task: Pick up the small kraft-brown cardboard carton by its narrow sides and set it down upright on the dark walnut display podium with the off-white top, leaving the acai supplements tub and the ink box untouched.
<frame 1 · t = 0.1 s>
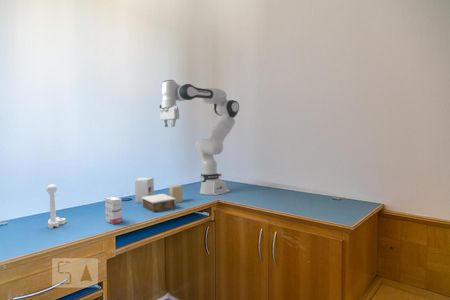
hand: (169, 126, 188), 48 cm above the worktop, tool pointing down, fingers open, 8 cm apart
podium: (158, 207, 172), on the worktop
supplement box: (145, 201, 188), on the worktop
carton: (176, 201, 186), on the worktop
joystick: (57, 224, 143), on the worktop
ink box: (114, 222, 146), on the worktop
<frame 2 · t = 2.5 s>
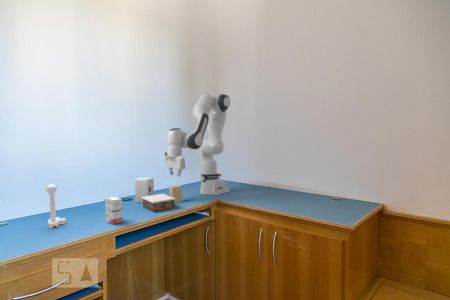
hand: (175, 175, 185), 17 cm above the worktop, tool pointing down, fingers open, 8 cm apart
nothing on the worktop moved.
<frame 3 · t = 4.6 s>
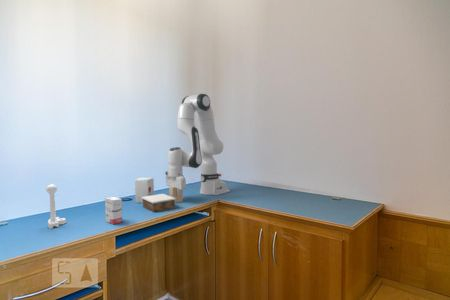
hand: (176, 194, 186), 5 cm above the worktop, tool pointing down, fingers closed on carton, 4 cm apart
carton: (176, 201, 186), on the worktop, touching gripper
everything else where it was.
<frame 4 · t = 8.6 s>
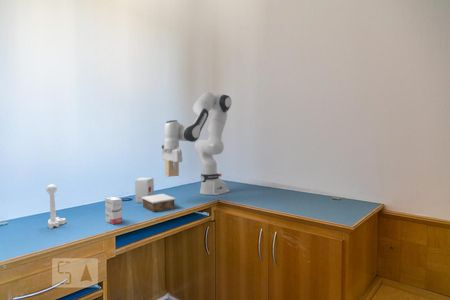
hand: (172, 168, 182), 22 cm above the worktop, tool pointing down, fingers closed on carton, 4 cm apart
carton: (172, 175, 182), point 17 cm above the worktop, touching gripper
everything else where it was.
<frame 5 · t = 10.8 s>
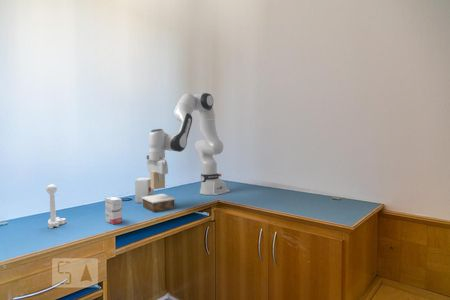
hand: (157, 180, 171), 16 cm above the worktop, tool pointing down, fingers closed on carton, 4 cm apart
carton: (157, 188, 171), point 12 cm above the worktop, touching gripper
everything else where it was.
when the fingers open (12 cm above the worktop, at t = 12.5 s): carton drops 1 cm, resting on podium.
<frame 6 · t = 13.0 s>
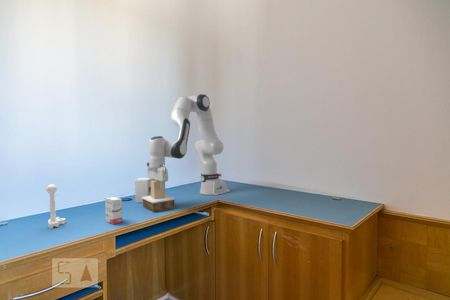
hand: (158, 187, 171), 12 cm above the worktop, tool pointing down, fingers open, 8 cm apart
carton: (158, 197, 172), point 6 cm above the worktop, touching podium
everything else where it was.
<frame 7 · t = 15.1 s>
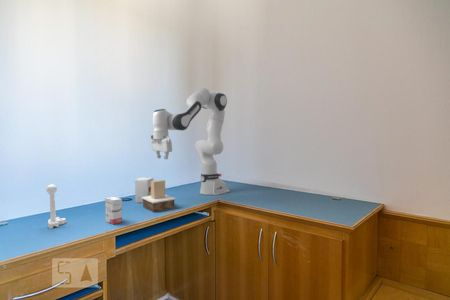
hand: (162, 158, 177), 28 cm above the worktop, tool pointing down, fingers open, 8 cm apart
nothing on the worktop moved.
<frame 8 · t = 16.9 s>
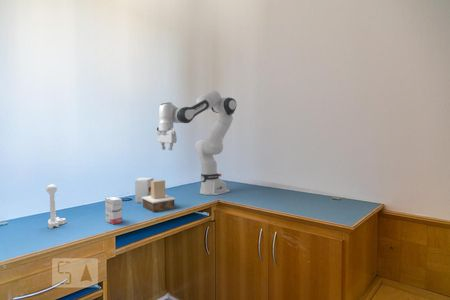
hand: (167, 149, 186), 33 cm above the worktop, tool pointing down, fingers open, 8 cm apart
nothing on the worktop moved.
at the end: carton inside the target area on the podium (0.0 cm from its centre), point 6.0 cm above the podium's base; carton tilted 0°; the gripper is holding nothing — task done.
